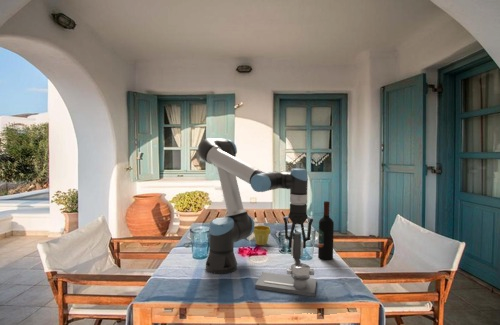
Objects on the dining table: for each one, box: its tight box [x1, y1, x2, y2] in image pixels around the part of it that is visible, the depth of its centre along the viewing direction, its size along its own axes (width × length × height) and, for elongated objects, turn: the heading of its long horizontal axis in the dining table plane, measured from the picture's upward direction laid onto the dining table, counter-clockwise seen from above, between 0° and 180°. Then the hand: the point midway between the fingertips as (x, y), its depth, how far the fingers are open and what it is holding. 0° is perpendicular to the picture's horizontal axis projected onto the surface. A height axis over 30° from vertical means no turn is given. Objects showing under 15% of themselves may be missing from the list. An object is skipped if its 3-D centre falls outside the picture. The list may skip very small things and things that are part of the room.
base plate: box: [254, 271, 317, 297], centre depth 125 cm, size 24×13×6 cm, turn 74°
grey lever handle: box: [286, 232, 315, 281], centre depth 126 cm, size 18×11×14 cm, turn 178°
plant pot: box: [252, 225, 271, 246], centre depth 180 cm, size 10×10×10 cm
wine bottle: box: [317, 201, 335, 262], centre depth 156 cm, size 8×8×30 cm
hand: (297, 254), depth 133 cm, fingers open, 4 cm apart
